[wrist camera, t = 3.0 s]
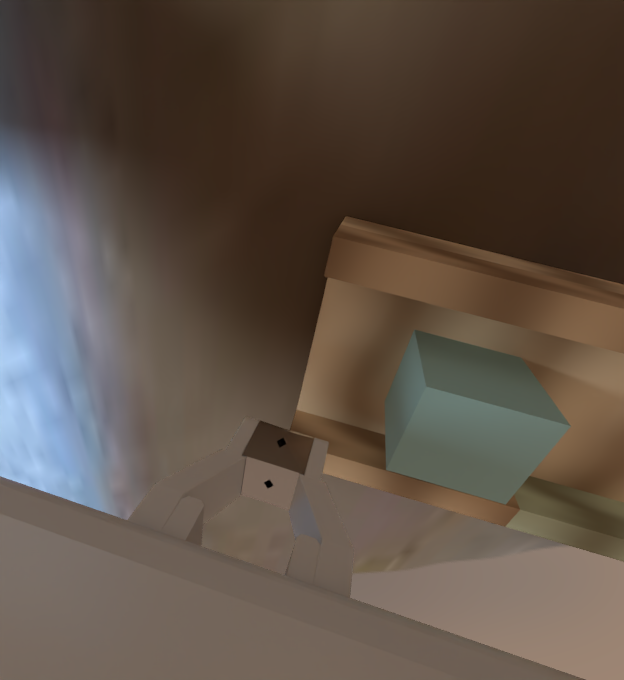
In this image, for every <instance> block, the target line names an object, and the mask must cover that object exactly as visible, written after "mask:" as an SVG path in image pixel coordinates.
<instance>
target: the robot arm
mask: <svg viewBox="0 0 624 680" xmlns="http://www.w3.org/2000/svg"><path fill="white" fill-rule="evenodd" d="M328 445H329V443H328V441H325V440H321V439H318V438H314V437H311V436H308V435H304V434H301V433H298V432H294V431H291V430H288V429H284V428H281V427H278V426H275V425H272V424H269V423H266V422H263V421H259V420H256V419H253V418H250V417H246V418H244V420H243V421H242V423H241V425H240V426H239V428H238V430H237V431H236V433H235V435H234V437H233V438H232V440H231V442H230V443H229V445H228V447H227V449H226V450H223V449H221V450H219V451H217V452H215V453H213V454H211V455H209V456H207V457H205V458H203V459H201V460H199V461H197V462H195V463H193V464H191V465H189V466H188V467H186V468H184V469H182V470H180V471H178V472H176V473H174V474H172V475H170V476H168V477H166V478H164V479H162V480H160V481H158V482H157V483H155V484H154V486H153V487H152V488H151V489H150V491H149V492H148V493H147V495H146V496H145V497H144V499H143V500H142V501H141V503H140V504H139V505H138V507H137V508H136V509H135V511H134V512H133V513H132V515H131V516H130V517H129V519H128V520H124V519H121V518H118V517H115V516H113V515H110V514H107V513H104V512H101V511H98V510H95V509H92V508H90V507H87V506H84V505H81V504H78V503H75V502H72V501H69V500H67V499H64V498H61V497H58V496H55V495H52V494H49V493H46V492H44V491H41V490H38V489H35V488H32V487H29V486H26V485H23V484H21V483H18V482H15V481H12V480H9V479H6V478H3V477H1V476H0V680H585V679H582V678H579V677H576V676H573V675H571V674H568V673H565V672H562V671H559V670H556V669H553V668H550V667H547V666H545V665H542V664H539V663H536V662H533V661H530V660H527V659H524V658H521V657H519V656H516V655H513V654H510V653H507V652H504V651H501V650H498V649H496V648H493V647H490V646H487V645H484V644H481V643H478V642H475V641H473V640H470V639H467V638H464V637H461V636H458V635H455V634H453V633H450V632H447V631H444V630H441V629H438V628H435V627H432V626H430V625H427V624H423V623H421V622H418V621H415V620H412V619H409V618H406V617H404V616H401V615H398V614H395V613H392V612H389V611H386V610H383V609H381V608H378V607H374V606H372V605H369V604H366V603H363V602H360V601H357V600H355V599H352V598H350V592H351V581H352V569H353V558H354V549H353V546H352V544H351V542H350V539H349V537H348V535H347V532H346V530H345V528H344V525H343V523H342V521H341V518H340V516H339V514H338V511H337V509H336V507H335V504H334V502H333V500H332V497H331V495H330V492H329V490H328V488H327V485H326V483H325V482H323V481H321V478H322V473H323V468H324V464H325V459H326V455H327V450H328ZM240 495H243V496H247V497H250V498H254V499H257V500H260V501H264V502H267V503H269V504H272V505H275V506H278V507H280V508H283V509H286V510H289V515H290V519H291V523H292V528H293V532H294V536H295V540H296V541H295V544H294V548H293V551H292V554H291V557H290V560H289V563H288V566H287V569H286V573H285V575H283V574H280V573H277V572H274V571H271V570H268V569H265V568H262V567H260V566H257V565H254V564H251V563H248V562H245V561H242V560H239V559H236V558H234V557H231V556H228V555H225V554H222V553H219V552H216V551H213V550H211V549H208V548H205V547H202V546H201V543H202V529H203V525H204V524H205V523H206V522H207V521H209V520H210V519H211V518H213V517H214V516H215V515H216V514H218V513H219V512H220V511H222V510H223V509H224V508H225V507H227V506H228V505H229V504H231V503H232V502H233V501H234V500H236V499H237V498H238V497H240Z"/></svg>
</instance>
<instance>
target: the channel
mask: <svg viewBox="0 0 624 680" xmlns="http://www.w3.org/2000/svg"><path fill="white" fill-rule="evenodd" d="M324 276H325V277H328V279H327V284H326V288H325V292H324V296H323V300H322V305H321V309H320V313H319V317H318V321H317V326H316V330H315V334H314V338H313V343H312V347H311V351H310V355H309V359H308V364H307V368H306V372H305V376H304V381H303V385H302V389H301V393H300V397H299V402H298V406H297V410H296V413H295V416H294V419H293V422H292V425H291V428H290V430H291V431H294V432H298V433H301V434H304V435H308V436H311V437H314V438H318V439H321V440H325V441H328V443H329V445H328V450H327V455H326V459H325V464H324V468H323V473H324V474H328V475H331V476H335V477H338V478H341V479H345V480H348V481H352V482H355V483H358V484H362V485H365V486H369V487H372V488H375V489H379V490H382V491H386V492H389V493H392V494H396V495H399V496H403V497H406V498H409V499H413V500H416V501H420V502H423V503H426V504H430V505H433V506H437V507H440V508H443V509H447V510H450V511H454V512H457V513H460V514H464V515H467V516H471V517H474V518H477V519H481V520H484V521H488V522H491V523H494V524H498V525H501V526H505V527H508V528H511V529H515V530H518V531H522V532H525V533H528V534H532V535H535V536H539V537H542V538H545V539H549V540H552V541H556V542H559V543H562V544H566V545H569V546H573V547H576V548H579V549H583V550H586V551H590V552H593V553H596V554H600V555H603V556H607V557H610V558H613V559H617V560H620V561H624V284H620V283H616V282H612V281H608V280H604V279H599V278H595V277H591V276H587V275H583V274H579V273H575V272H571V271H567V270H563V269H559V268H555V267H551V266H547V265H543V264H539V263H535V262H530V261H526V260H522V259H518V258H514V257H510V256H506V255H502V254H498V253H494V252H490V251H486V250H482V249H478V248H474V247H470V246H466V245H461V244H457V243H453V242H449V241H445V240H441V239H437V238H433V237H429V236H425V235H421V234H417V233H413V232H409V231H405V230H401V229H396V228H392V227H388V226H384V225H380V224H376V223H372V222H368V221H364V220H360V219H356V218H352V217H348V216H346V217H345V218H344V220H343V221H342V223H341V224H340V226H339V228H338V229H337V231H336V232H335V234H334V236H333V239H332V243H331V248H330V252H329V256H328V261H327V265H326V269H325V274H324ZM414 330H418V331H422V332H426V333H430V334H433V335H437V336H441V337H445V338H449V339H452V340H456V341H460V342H464V343H468V344H471V345H475V346H479V347H483V348H487V349H490V350H494V351H498V352H502V353H506V354H509V355H513V356H517V357H521V358H522V359H523V361H524V362H525V363H526V365H527V366H528V367H529V369H530V370H531V372H532V373H533V374H534V376H535V377H536V379H537V380H538V381H539V383H540V384H541V385H542V387H543V388H544V390H545V391H546V392H547V394H548V395H549V396H550V398H551V399H552V401H553V402H554V403H555V405H556V406H557V407H558V409H559V410H560V412H561V413H562V414H563V416H564V417H565V418H566V420H567V421H568V423H569V424H570V425H571V427H570V428H569V429H568V430H567V432H566V433H565V434H564V435H563V436H562V438H561V439H560V440H559V441H558V442H557V444H556V445H555V446H554V447H553V448H552V450H551V451H550V452H549V453H548V454H547V456H546V457H545V458H544V459H543V460H542V462H541V463H540V464H539V465H538V466H537V468H536V469H535V470H534V471H533V472H532V474H531V475H530V476H529V477H528V478H527V480H526V481H525V482H524V483H523V484H522V486H521V487H520V488H519V489H518V490H517V492H516V493H515V494H514V495H513V496H512V498H511V499H510V500H509V501H508V502H507V504H506V505H505V504H502V503H498V502H495V501H492V500H488V499H485V498H481V497H478V496H474V495H471V494H467V493H464V492H461V491H457V490H454V489H450V488H447V487H443V486H440V485H436V484H433V483H430V482H426V481H423V480H419V479H416V478H412V477H409V476H405V475H402V474H399V473H395V472H392V471H388V470H386V445H385V399H386V397H387V395H388V392H389V390H390V387H391V385H392V382H393V380H394V378H395V375H396V373H397V370H398V368H399V365H400V363H401V361H402V358H403V356H404V353H405V351H406V349H407V346H408V344H409V341H410V339H411V336H412V334H413V332H414Z"/></svg>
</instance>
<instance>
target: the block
mask: <svg viewBox="0 0 624 680" xmlns="http://www.w3.org/2000/svg"><path fill="white" fill-rule="evenodd" d="M570 427H571V425H570V424H569V423H568V421H567V420H566V418H565V417H564V416H563V414H562V413H561V412H560V410H559V409H558V407H557V406H556V405H555V403H554V402H553V401H552V399H551V398H550V396H549V395H548V394H547V392H546V391H545V390H544V388H543V387H542V385H541V384H540V383H539V381H538V380H537V379H536V377H535V376H534V374H533V373H532V372H531V370H530V369H529V367H528V366H527V365H526V363H525V362H524V361H523V359H522V358H521V357H517V356H513V355H509V354H506V353H502V352H498V351H494V350H490V349H487V348H483V347H479V346H475V345H471V344H468V343H464V342H460V341H456V340H452V339H449V338H445V337H441V336H437V335H433V334H430V333H426V332H422V331H418V330H414V332H413V334H412V336H411V339H410V341H409V344H408V346H407V349H406V351H405V353H404V356H403V358H402V361H401V363H400V365H399V368H398V370H397V373H396V375H395V378H394V380H393V382H392V385H391V387H390V390H389V392H388V395H387V397H386V399H385V445H386V470H388V471H392V472H395V473H399V474H402V475H405V476H409V477H412V478H416V479H419V480H423V481H426V482H430V483H433V484H436V485H440V486H443V487H447V488H450V489H454V490H457V491H461V492H464V493H467V494H471V495H474V496H478V497H481V498H485V499H488V500H492V501H495V502H498V503H502V504H505V505H506V504H507V502H508V501H509V500H510V499H511V498H512V496H513V495H514V494H515V493H516V492H517V490H518V489H519V488H520V487H521V486H522V484H523V483H524V482H525V481H526V480H527V478H528V477H529V476H530V475H531V474H532V472H533V471H534V470H535V469H536V468H537V466H538V465H539V464H540V463H541V462H542V460H543V459H544V458H545V457H546V456H547V454H548V453H549V452H550V451H551V450H552V448H553V447H554V446H555V445H556V444H557V442H558V441H559V440H560V439H561V438H562V436H563V435H564V434H565V433H566V432H567V430H568V429H569V428H570Z"/></svg>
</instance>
